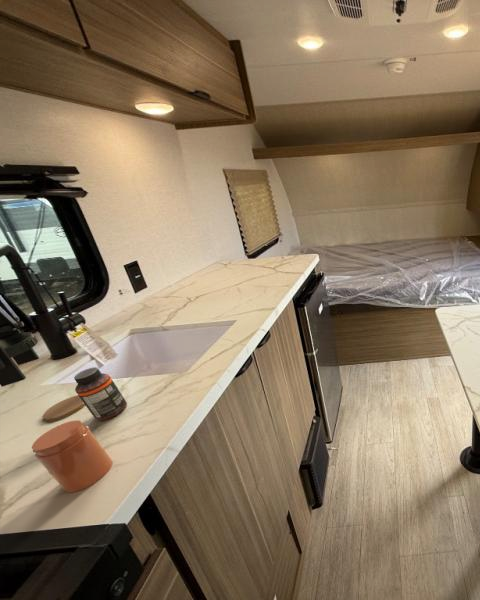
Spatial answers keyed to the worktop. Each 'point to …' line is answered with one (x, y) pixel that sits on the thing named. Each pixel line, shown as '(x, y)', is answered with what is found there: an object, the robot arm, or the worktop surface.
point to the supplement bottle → (99, 394)
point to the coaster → (64, 408)
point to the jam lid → (18, 343)
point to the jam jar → (72, 455)
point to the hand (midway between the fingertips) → (21, 371)
